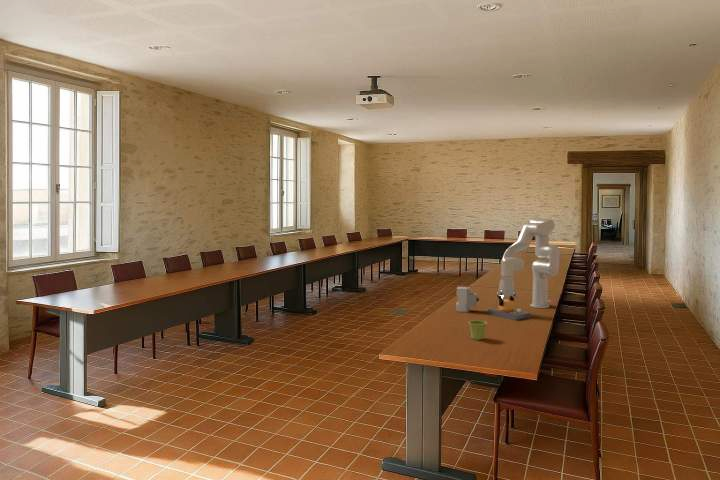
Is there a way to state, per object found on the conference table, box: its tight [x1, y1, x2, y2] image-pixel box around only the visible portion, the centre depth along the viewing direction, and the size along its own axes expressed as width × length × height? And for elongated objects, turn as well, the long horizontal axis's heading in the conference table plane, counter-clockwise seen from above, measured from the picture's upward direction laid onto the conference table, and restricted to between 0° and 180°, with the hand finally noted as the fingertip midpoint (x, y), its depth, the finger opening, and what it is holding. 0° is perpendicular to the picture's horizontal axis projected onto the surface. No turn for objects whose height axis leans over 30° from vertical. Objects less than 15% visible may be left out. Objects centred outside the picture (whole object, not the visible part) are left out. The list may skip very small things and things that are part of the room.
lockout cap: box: [497, 298, 516, 311], centre depth 346 cm, size 7×7×6 cm
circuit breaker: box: [455, 286, 480, 313], centre depth 354 cm, size 8×14×15 cm, turn 78°
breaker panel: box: [487, 306, 532, 321], centre depth 341 cm, size 14×22×3 cm, turn 34°
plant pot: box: [468, 320, 488, 341], centre depth 286 cm, size 9×9×9 cm
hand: (506, 305), depth 345 cm, fingers open, 9 cm apart
